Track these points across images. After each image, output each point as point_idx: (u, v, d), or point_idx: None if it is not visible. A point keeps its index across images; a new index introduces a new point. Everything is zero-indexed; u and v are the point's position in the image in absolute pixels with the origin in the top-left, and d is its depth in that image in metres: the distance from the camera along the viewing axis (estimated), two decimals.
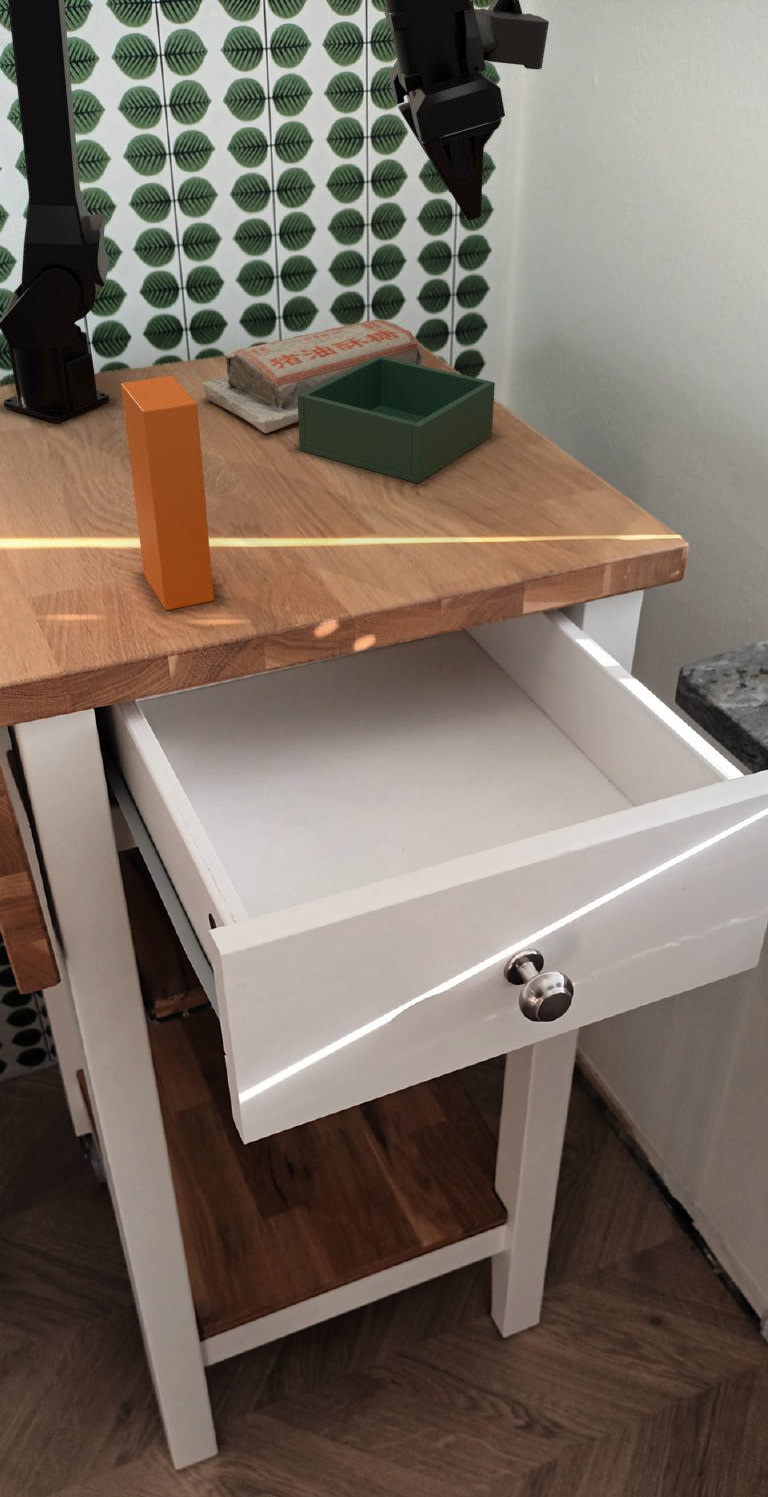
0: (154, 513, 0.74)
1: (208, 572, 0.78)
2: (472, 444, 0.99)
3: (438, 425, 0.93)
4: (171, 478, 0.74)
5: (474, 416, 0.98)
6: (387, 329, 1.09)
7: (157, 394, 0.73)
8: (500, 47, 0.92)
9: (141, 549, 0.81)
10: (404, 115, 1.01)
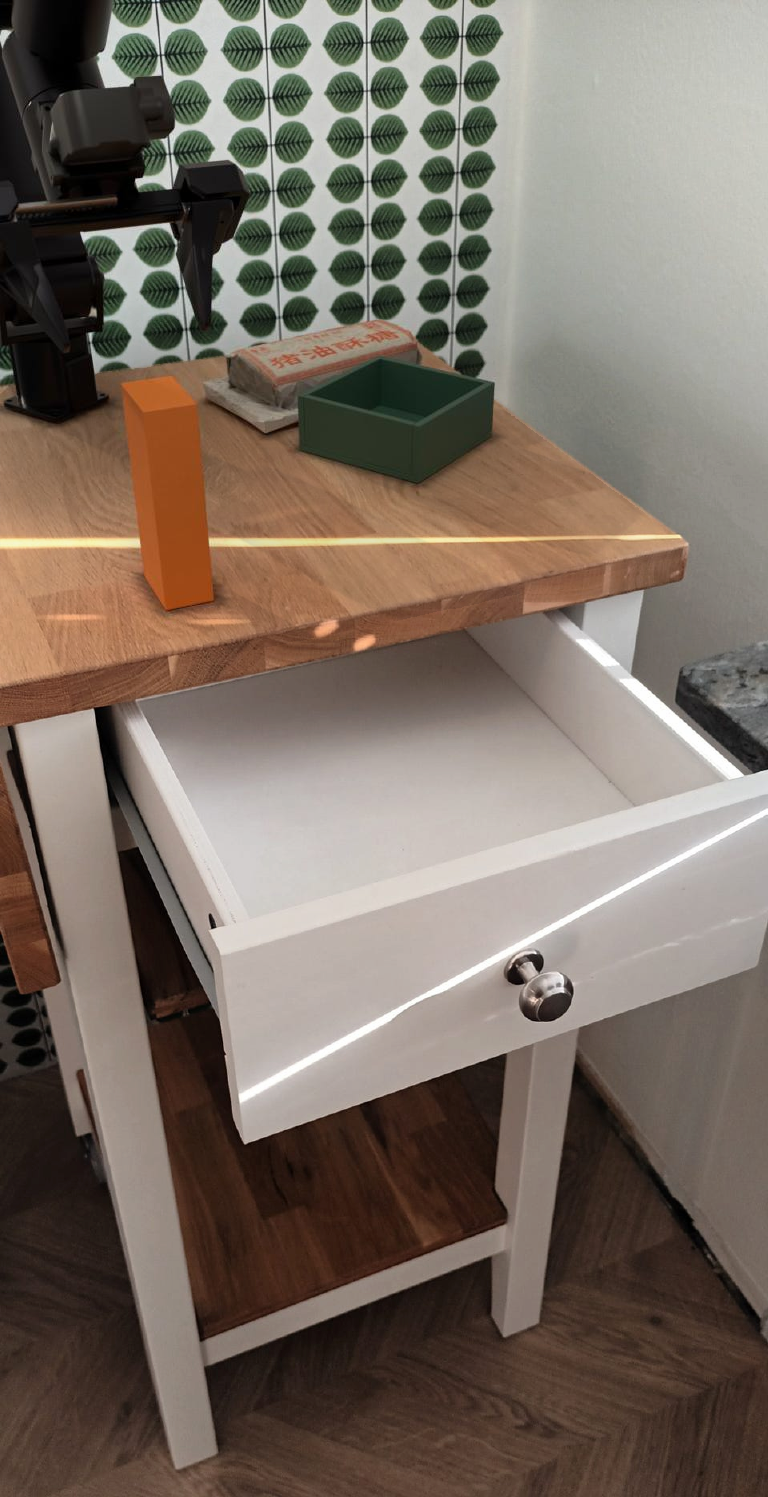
0: (154, 513, 0.74)
1: (208, 572, 0.78)
2: (472, 444, 0.99)
3: (438, 425, 0.93)
4: (171, 478, 0.74)
5: (474, 416, 0.98)
6: (387, 329, 1.09)
7: (157, 394, 0.73)
8: (58, 143, 0.74)
9: (141, 549, 0.81)
10: None
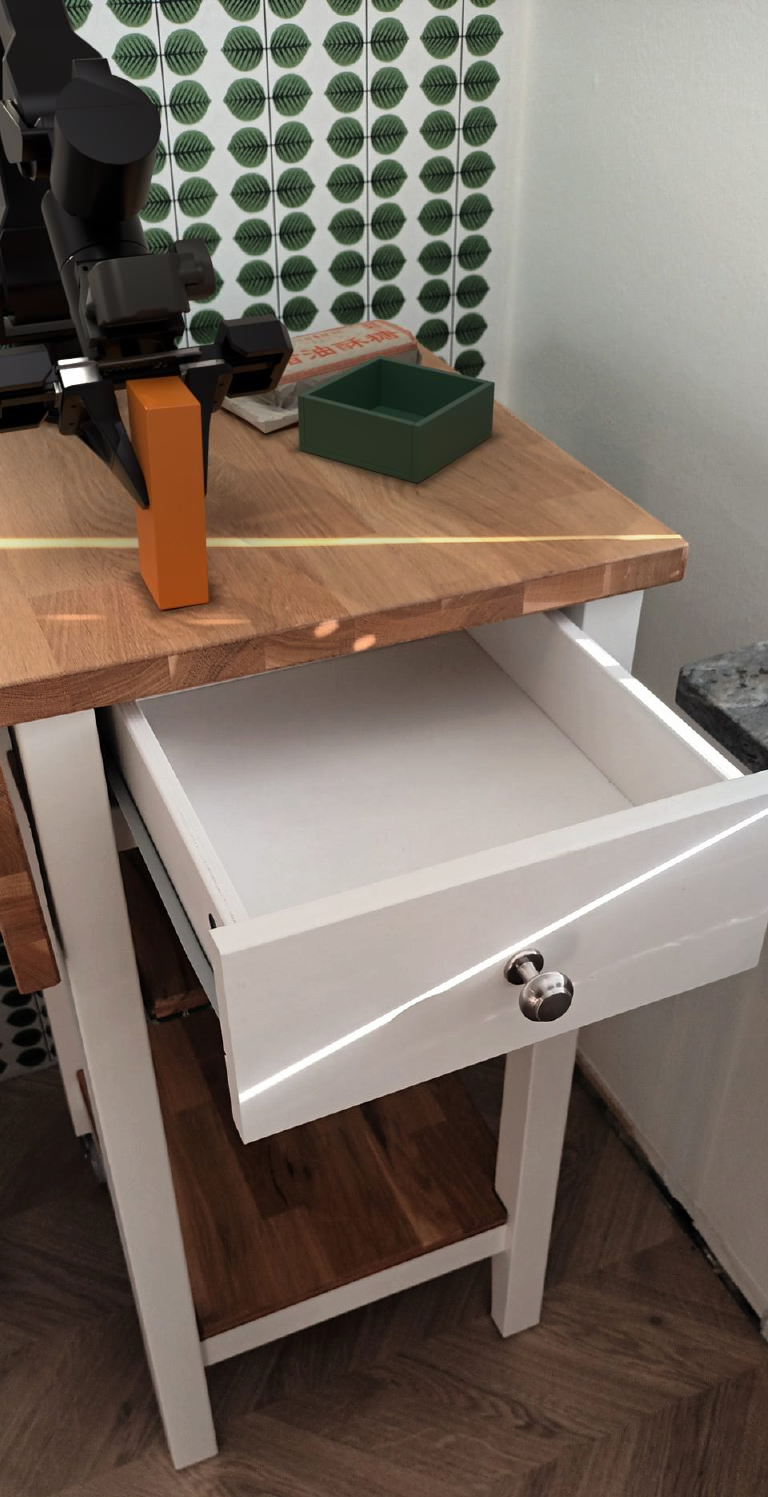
0: (152, 511, 0.74)
1: (204, 573, 0.78)
2: (472, 444, 0.99)
3: (438, 425, 0.93)
4: (171, 477, 0.73)
5: (474, 416, 0.98)
6: (387, 329, 1.09)
7: (162, 392, 0.73)
8: (95, 308, 0.72)
9: (139, 548, 0.80)
10: None
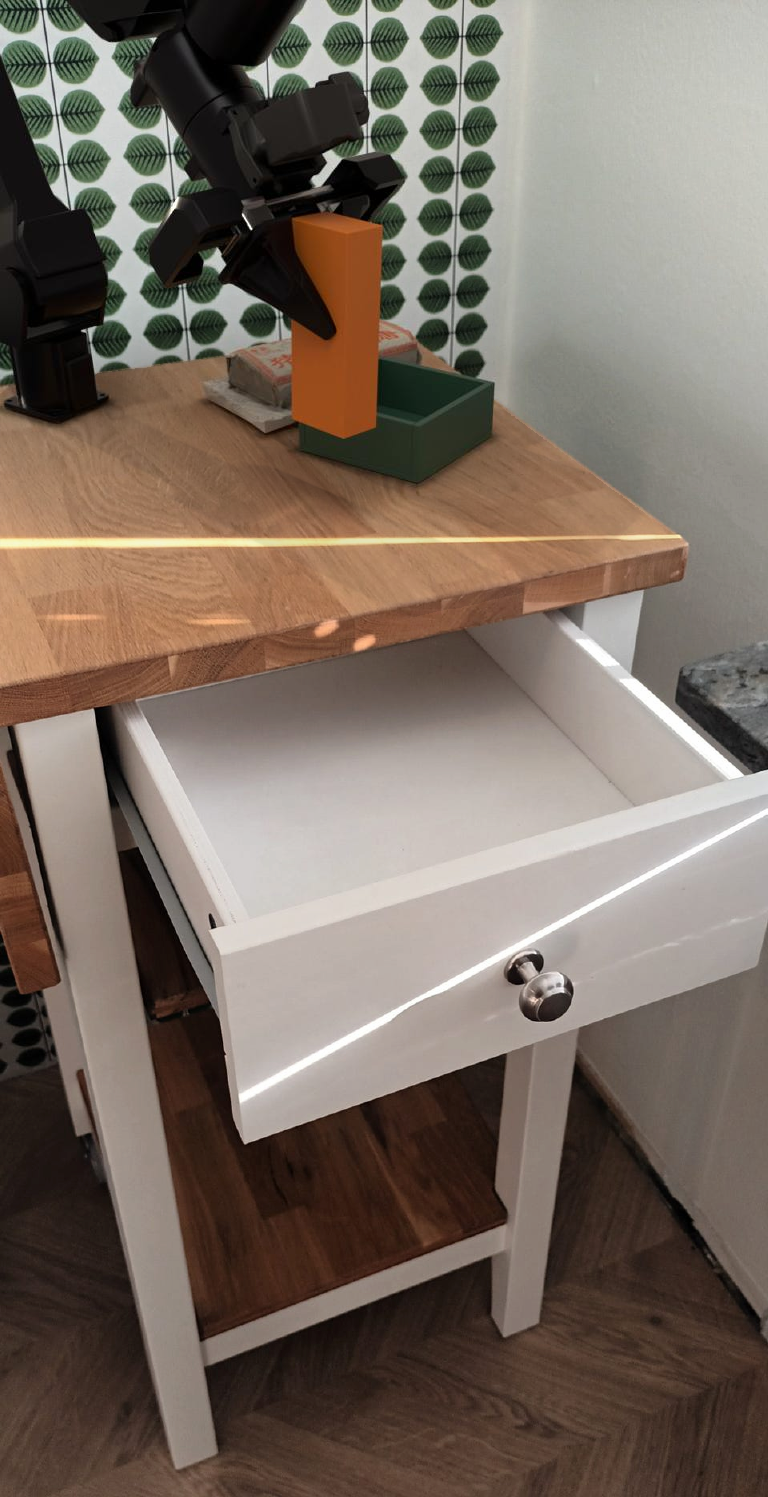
0: (344, 338, 0.79)
1: (375, 398, 0.83)
2: (472, 444, 0.99)
3: (438, 425, 0.93)
4: (360, 301, 0.79)
5: (474, 416, 0.98)
6: (387, 329, 1.09)
7: (338, 222, 0.77)
8: (269, 145, 0.75)
9: (293, 390, 0.84)
10: None
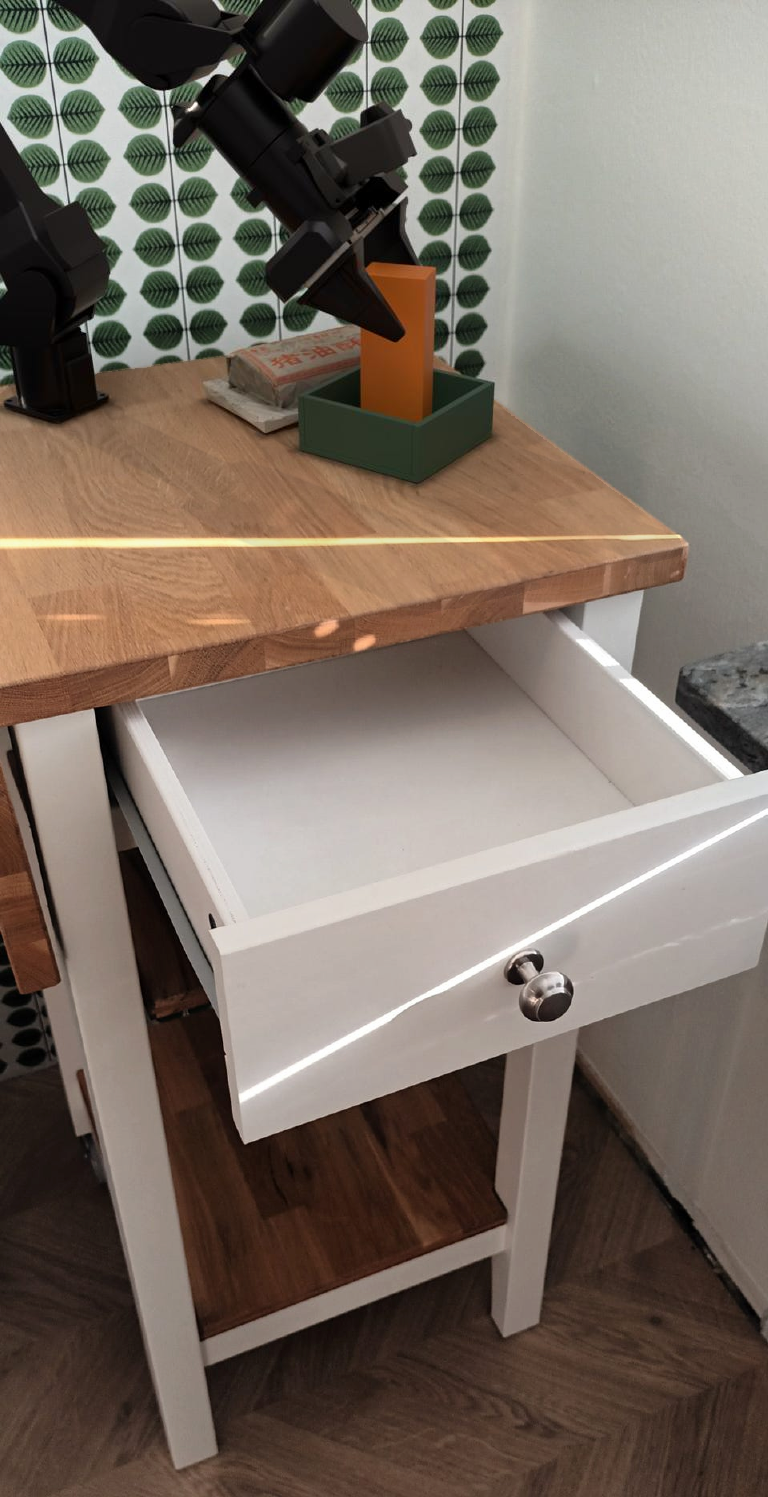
0: (422, 365, 0.94)
1: (431, 409, 0.99)
2: (472, 444, 0.99)
3: (438, 425, 0.93)
4: (428, 332, 0.94)
5: (474, 416, 0.98)
6: None
7: (400, 270, 0.92)
8: (351, 168, 0.87)
9: None
10: None
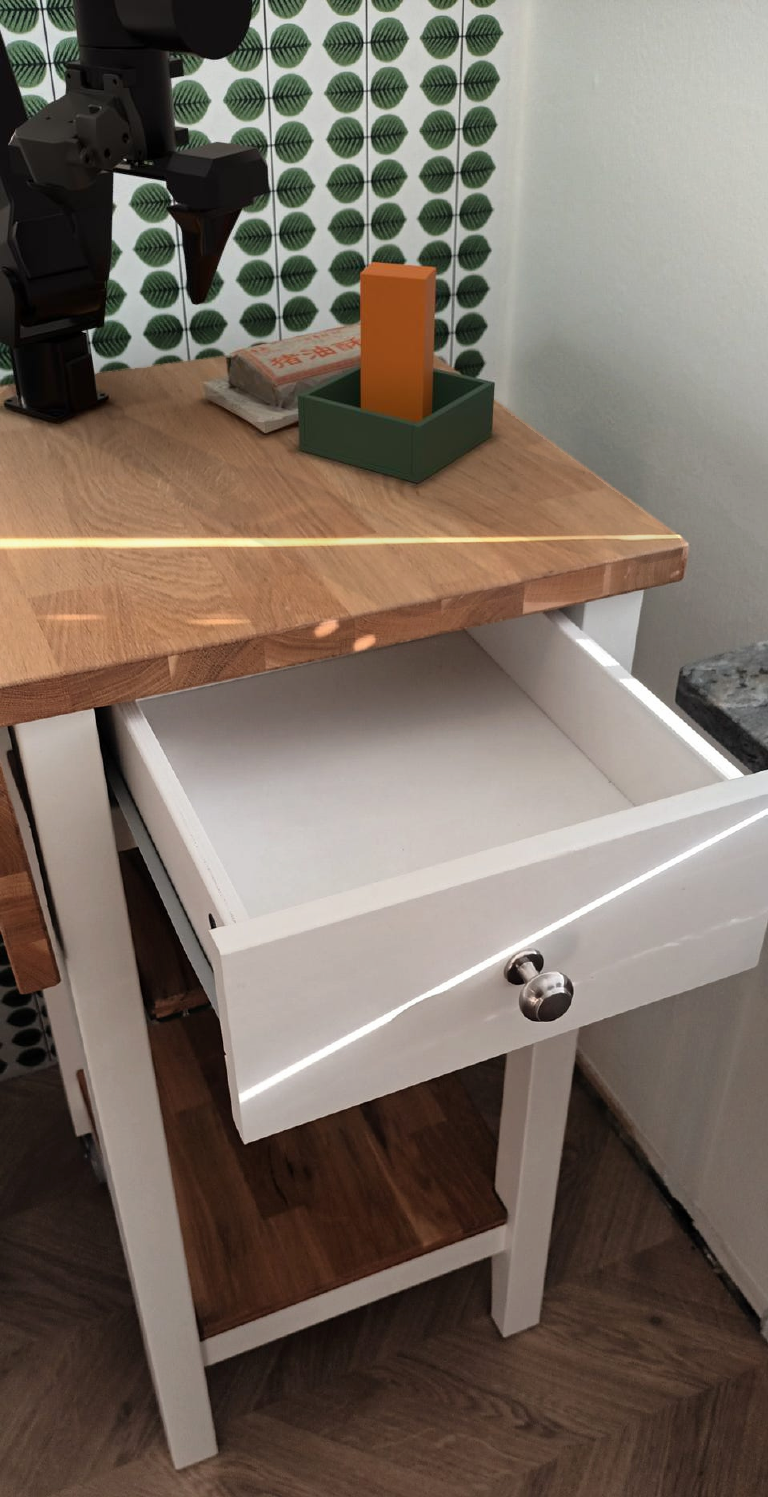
0: (422, 365, 0.94)
1: (431, 409, 0.99)
2: (472, 444, 0.99)
3: (438, 425, 0.93)
4: (428, 332, 0.94)
5: (474, 416, 0.98)
6: None
7: (400, 270, 0.92)
8: None
9: None
10: None
